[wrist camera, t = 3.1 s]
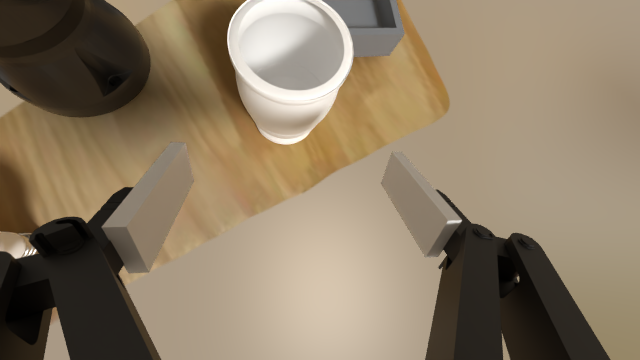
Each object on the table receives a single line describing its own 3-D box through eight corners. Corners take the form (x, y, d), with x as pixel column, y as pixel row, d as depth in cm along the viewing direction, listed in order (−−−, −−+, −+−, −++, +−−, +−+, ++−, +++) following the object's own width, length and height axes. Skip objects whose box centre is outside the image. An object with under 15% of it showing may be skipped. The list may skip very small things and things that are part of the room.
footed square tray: (289, 66, 35) (292, 36, 29) (272, -26, 37) (272, -72, 31) (384, 61, 39) (404, 33, 33) (364, -23, 40) (380, -63, 35)
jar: (304, 76, 35) (326, -22, 21) (331, 138, 35) (373, 80, 20) (235, 95, 33) (205, -1, 18) (263, 162, 32) (254, 117, 18)
